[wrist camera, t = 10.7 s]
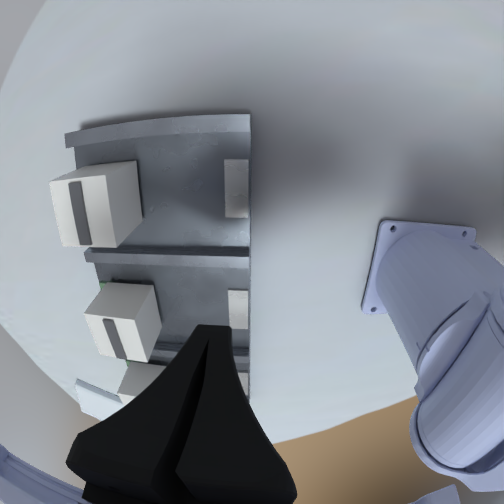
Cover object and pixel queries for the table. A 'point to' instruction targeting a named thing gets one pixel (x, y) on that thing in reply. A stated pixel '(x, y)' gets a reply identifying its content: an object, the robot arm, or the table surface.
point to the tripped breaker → (137, 380)
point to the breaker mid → (125, 321)
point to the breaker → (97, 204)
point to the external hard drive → (97, 400)
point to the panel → (183, 223)
